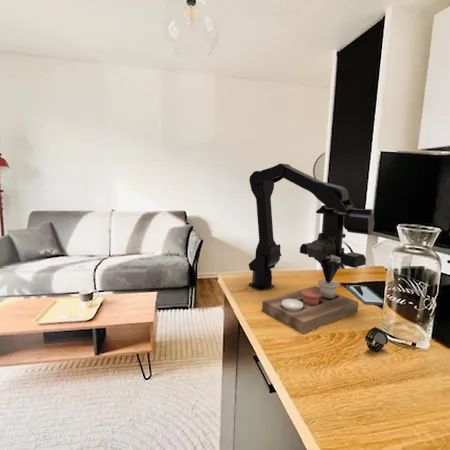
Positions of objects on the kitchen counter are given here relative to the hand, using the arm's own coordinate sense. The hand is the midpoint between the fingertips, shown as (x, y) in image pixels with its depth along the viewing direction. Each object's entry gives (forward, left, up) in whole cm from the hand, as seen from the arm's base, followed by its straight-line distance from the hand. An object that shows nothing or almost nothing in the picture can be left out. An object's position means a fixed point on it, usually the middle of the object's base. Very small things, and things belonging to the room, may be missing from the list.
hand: (328, 282), depth 88 cm
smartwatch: (+21, -11, -8) cm, 24 cm away
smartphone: (+2, +18, -8) cm, 20 cm away
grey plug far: (0, 0, -4) cm, 4 cm away
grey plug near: (0, -15, -7) cm, 17 cm away
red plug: (0, -7, -5) cm, 9 cm away
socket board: (0, -7, -7) cm, 10 cm away
